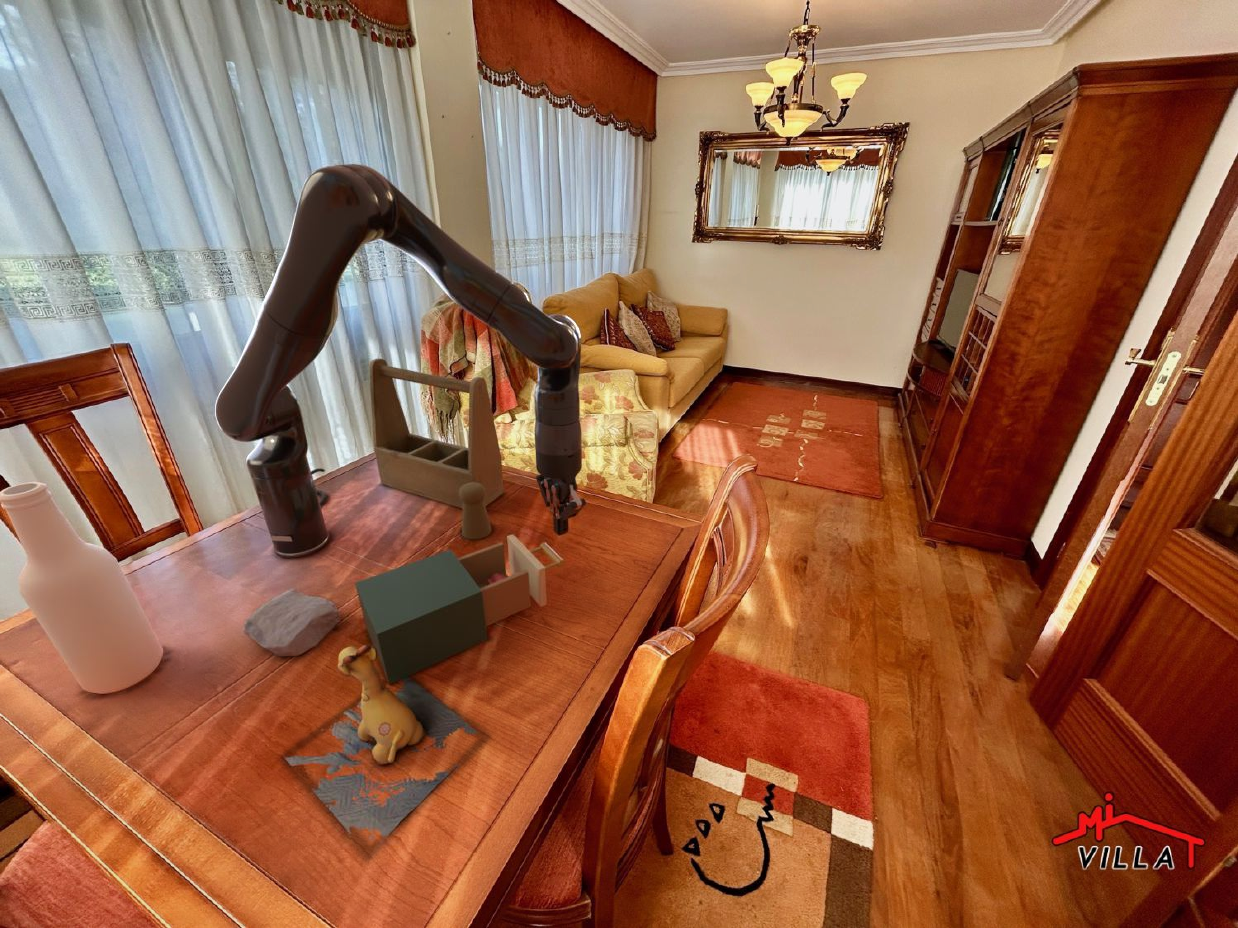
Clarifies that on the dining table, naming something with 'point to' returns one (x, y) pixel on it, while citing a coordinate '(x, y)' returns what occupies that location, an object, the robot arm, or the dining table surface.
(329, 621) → the stone block
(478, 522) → the wooden peg doll
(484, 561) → the drawer
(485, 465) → the caddy
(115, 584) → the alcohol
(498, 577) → the red ridged block
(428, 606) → the cabinet
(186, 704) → the dining table surface
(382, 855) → the dining table surface
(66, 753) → the dining table surface
